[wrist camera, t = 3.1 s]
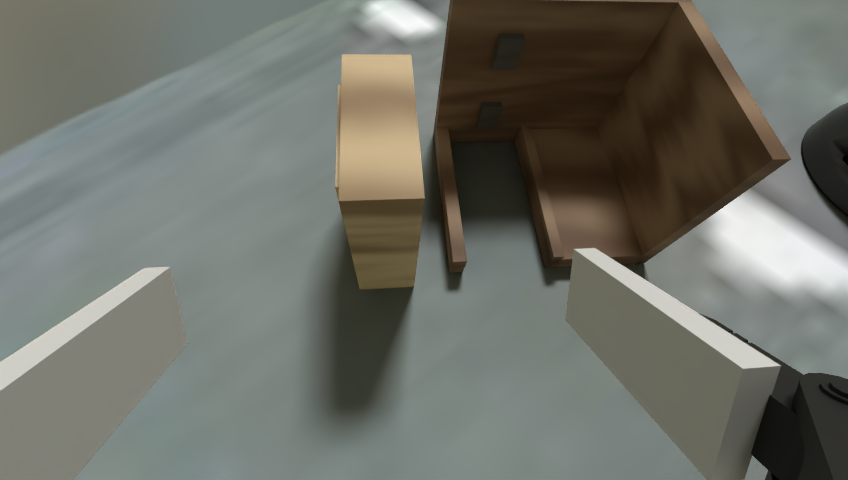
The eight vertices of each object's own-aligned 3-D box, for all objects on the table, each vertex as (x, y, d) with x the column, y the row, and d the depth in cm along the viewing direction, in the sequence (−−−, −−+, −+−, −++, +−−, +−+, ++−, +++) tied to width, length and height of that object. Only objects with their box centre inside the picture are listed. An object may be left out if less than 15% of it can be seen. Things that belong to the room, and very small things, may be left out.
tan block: (413, 286, 29) (424, 198, 18) (355, 289, 29) (332, 201, 18) (406, 177, 34) (411, 54, 23) (355, 178, 33) (336, 54, 22)
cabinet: (644, 262, 31) (791, 159, 20) (449, 272, 30) (484, 166, 18) (596, 131, 37) (686, -7, 26) (433, 133, 36) (451, -12, 24)
